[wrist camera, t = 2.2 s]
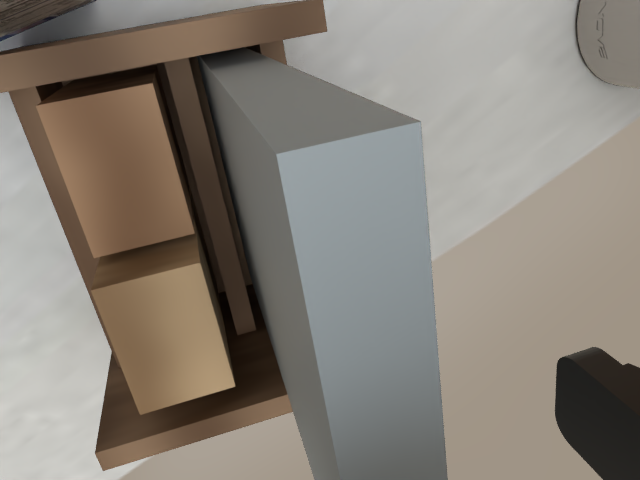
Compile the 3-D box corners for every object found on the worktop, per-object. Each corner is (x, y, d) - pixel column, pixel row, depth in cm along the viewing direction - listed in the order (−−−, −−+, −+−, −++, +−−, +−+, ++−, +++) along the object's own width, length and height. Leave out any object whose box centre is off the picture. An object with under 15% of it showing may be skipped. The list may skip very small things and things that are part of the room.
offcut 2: (190, 186, 29) (200, 262, 20) (216, 281, 31) (235, 386, 22) (114, 203, 28) (90, 290, 19) (147, 298, 31) (140, 415, 22)
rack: (262, 4, 28) (322, -2, 17) (311, 270, 35) (377, 385, 24) (21, 47, 26) (-82, 69, 15) (124, 320, 32) (103, 470, 22)
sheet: (234, 43, 27) (420, 122, 7) (282, 268, 32) (461, 661, 13) (195, 50, 26) (276, 153, 7) (250, 276, 32) (382, 695, 12)
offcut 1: (156, 64, 26) (152, 83, 19) (188, 179, 29) (195, 233, 22) (72, 80, 25) (35, 106, 18) (112, 196, 28) (93, 258, 21)
